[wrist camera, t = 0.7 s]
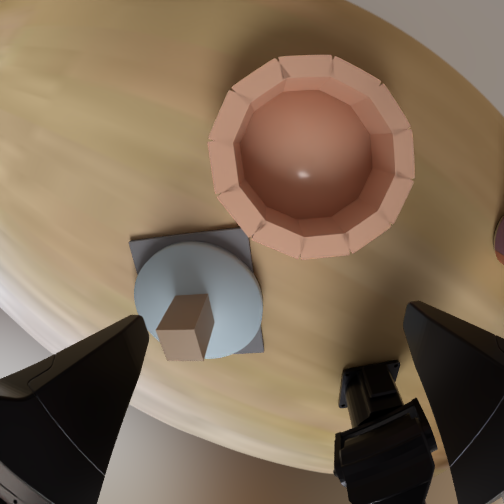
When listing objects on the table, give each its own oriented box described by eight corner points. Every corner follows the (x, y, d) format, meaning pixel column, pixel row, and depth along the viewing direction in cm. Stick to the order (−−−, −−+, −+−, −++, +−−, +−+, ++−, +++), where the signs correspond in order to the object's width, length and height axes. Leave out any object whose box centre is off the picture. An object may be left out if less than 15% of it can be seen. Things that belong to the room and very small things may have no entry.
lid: (268, 347, 25) (267, 396, 20) (159, 350, 26) (138, 392, 21) (254, 233, 21) (249, 266, 16) (125, 248, 22) (88, 279, 17)
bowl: (385, 226, 21) (412, 248, 16) (236, 240, 22) (227, 266, 17) (374, 75, 17) (401, 60, 12) (214, 85, 18) (197, 68, 13)
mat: (264, 349, 26) (263, 352, 25) (165, 351, 27) (164, 354, 26) (247, 226, 22) (246, 228, 21) (130, 240, 22) (128, 242, 22)
